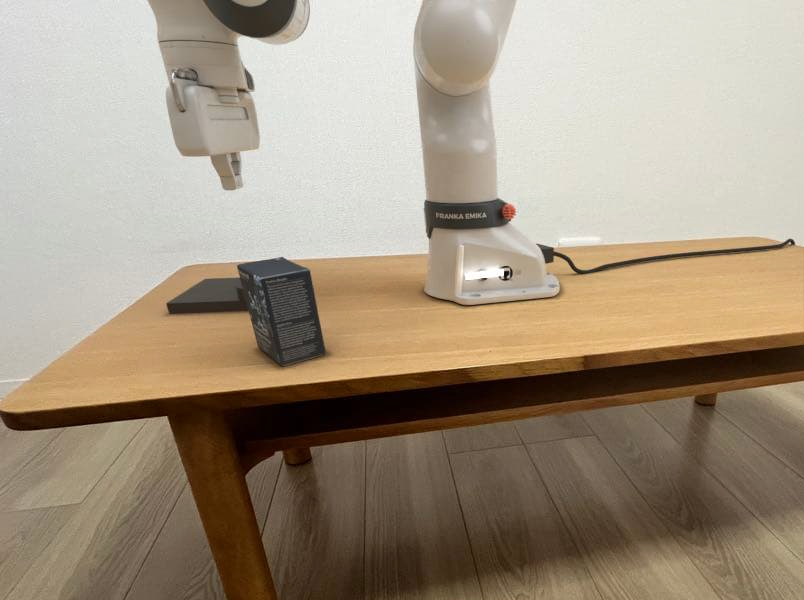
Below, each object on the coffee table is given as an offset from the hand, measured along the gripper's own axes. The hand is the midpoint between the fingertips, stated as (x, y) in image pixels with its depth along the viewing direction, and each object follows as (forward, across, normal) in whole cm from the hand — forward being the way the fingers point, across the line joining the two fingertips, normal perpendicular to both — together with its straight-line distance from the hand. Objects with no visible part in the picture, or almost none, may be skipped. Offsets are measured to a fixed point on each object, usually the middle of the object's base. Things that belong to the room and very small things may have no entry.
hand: (233, 189), depth 75 cm
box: (+17, -20, -10) cm, 28 cm away
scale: (+17, +4, +4) cm, 18 cm away
